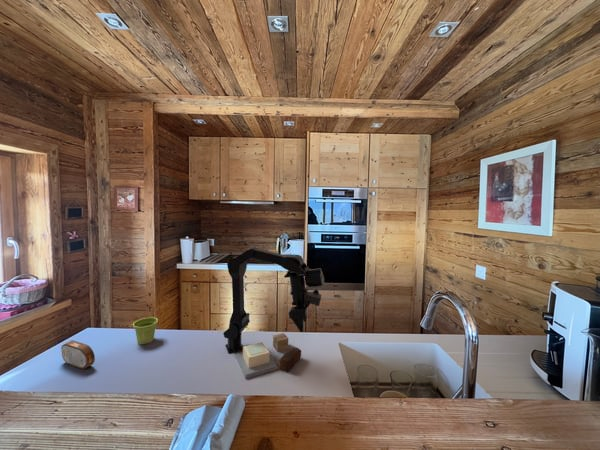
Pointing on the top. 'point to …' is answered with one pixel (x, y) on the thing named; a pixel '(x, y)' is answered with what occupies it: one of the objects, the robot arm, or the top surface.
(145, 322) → the plant pot
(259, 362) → the foundation
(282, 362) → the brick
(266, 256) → the robot arm
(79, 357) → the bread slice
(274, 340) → the tan cube
